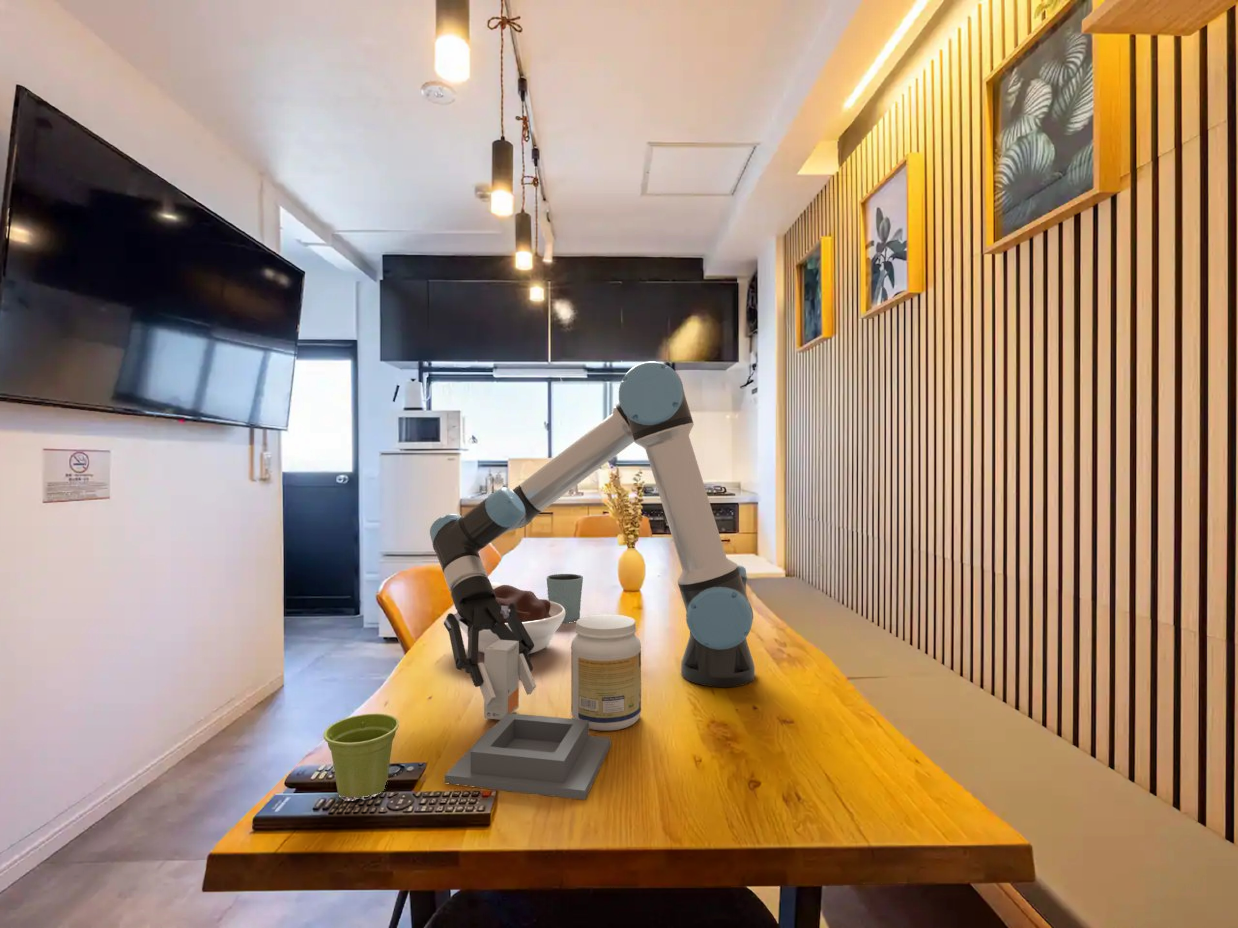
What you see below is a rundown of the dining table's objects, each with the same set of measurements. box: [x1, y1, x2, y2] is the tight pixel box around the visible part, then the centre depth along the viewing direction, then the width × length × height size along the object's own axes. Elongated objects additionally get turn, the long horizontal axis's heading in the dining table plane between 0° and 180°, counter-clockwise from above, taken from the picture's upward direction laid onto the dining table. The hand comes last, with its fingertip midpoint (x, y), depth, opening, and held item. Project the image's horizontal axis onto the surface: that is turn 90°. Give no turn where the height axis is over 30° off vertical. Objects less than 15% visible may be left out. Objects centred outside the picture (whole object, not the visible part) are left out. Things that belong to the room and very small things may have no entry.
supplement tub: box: [570, 613, 642, 732], centre depth 109 cm, size 12×12×17 cm
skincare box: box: [483, 640, 520, 721], centre depth 109 cm, size 6×4×12 cm
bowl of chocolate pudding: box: [459, 584, 566, 655], centre depth 147 cm, size 25×25×15 cm
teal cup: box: [546, 573, 584, 624], centre depth 176 cm, size 10×10×12 cm
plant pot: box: [323, 713, 400, 797], centre depth 85 cm, size 9×9×9 cm
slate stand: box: [444, 713, 612, 801], centre depth 92 cm, size 20×16×4 cm
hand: (511, 695), depth 107 cm, fingers closed on skincare box, 7 cm apart
